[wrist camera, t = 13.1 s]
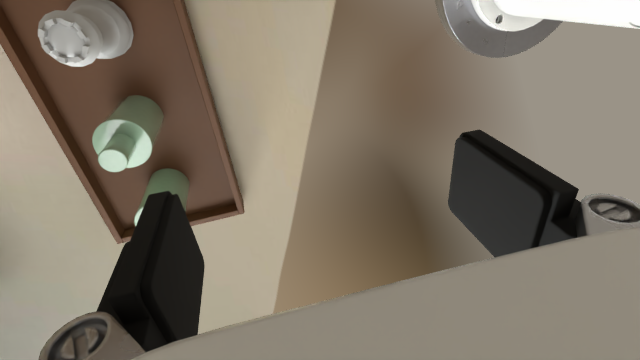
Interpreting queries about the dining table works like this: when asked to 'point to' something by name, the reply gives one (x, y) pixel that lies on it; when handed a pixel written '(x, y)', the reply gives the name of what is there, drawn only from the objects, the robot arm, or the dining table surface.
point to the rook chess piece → (85, 32)
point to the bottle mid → (128, 133)
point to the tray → (122, 81)
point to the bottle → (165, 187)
